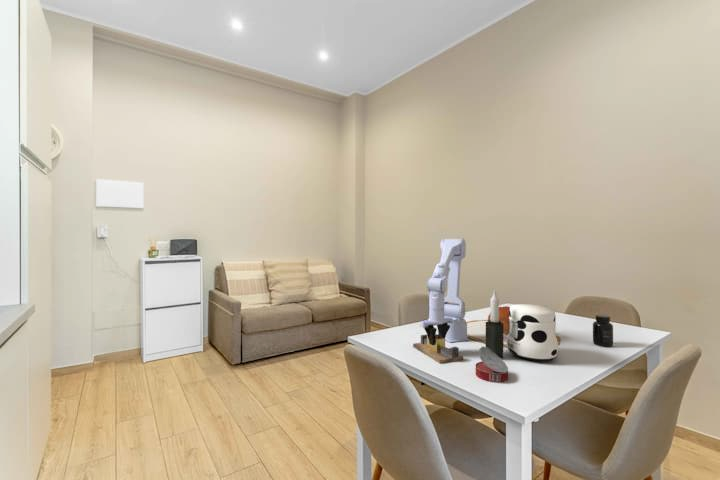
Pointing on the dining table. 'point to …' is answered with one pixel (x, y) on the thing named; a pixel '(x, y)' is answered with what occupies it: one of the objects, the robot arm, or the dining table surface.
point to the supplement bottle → (603, 331)
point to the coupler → (436, 343)
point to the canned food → (491, 367)
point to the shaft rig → (442, 356)
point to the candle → (494, 328)
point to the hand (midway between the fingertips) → (436, 343)
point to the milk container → (532, 332)
